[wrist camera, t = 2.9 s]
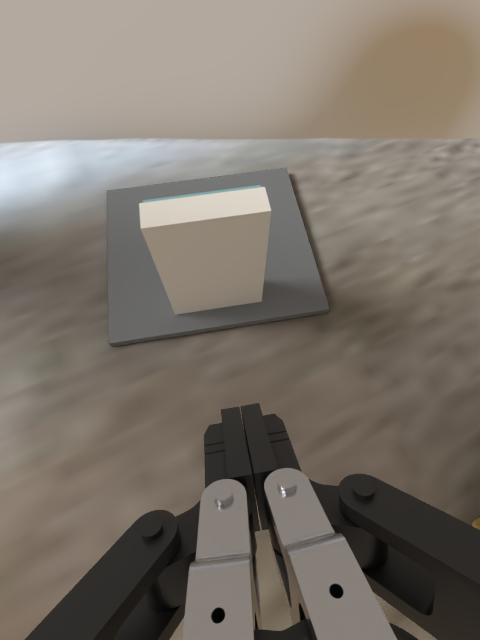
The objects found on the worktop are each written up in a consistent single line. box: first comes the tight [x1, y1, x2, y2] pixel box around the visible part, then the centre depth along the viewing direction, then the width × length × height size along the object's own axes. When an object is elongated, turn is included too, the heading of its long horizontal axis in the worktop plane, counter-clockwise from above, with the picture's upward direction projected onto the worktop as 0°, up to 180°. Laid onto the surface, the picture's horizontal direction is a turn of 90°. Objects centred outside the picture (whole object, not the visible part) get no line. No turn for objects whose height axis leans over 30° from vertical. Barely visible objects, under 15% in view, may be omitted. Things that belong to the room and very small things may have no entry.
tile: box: [139, 185, 271, 315], centre depth 27 cm, size 8×2×12 cm, turn 100°
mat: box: [107, 168, 330, 347], centre depth 36 cm, size 20×18×1 cm
